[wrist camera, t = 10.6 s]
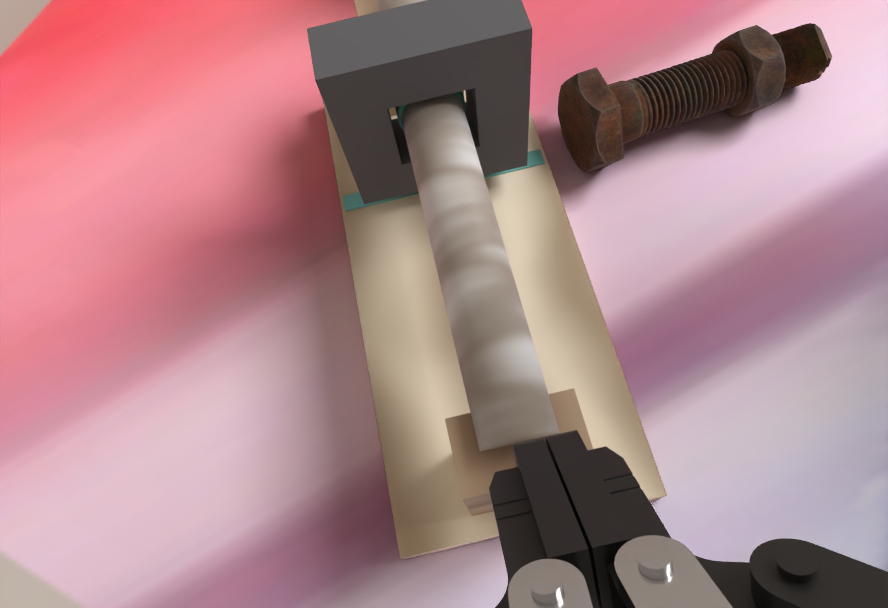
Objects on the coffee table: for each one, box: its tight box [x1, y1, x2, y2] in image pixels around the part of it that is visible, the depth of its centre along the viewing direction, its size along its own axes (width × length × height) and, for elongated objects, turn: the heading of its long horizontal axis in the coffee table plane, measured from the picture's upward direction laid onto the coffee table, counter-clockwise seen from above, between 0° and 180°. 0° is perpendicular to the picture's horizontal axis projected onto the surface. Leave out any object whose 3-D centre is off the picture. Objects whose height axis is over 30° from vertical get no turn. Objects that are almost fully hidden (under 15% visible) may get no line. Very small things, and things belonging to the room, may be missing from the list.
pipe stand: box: [323, 0, 667, 559], centre depth 30 cm, size 12×28×9 cm, turn 12°
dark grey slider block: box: [307, 0, 532, 204], centre depth 29 cm, size 9×3×9 cm, turn 102°
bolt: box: [558, 23, 832, 172], centre depth 35 cm, size 6×5×15 cm
